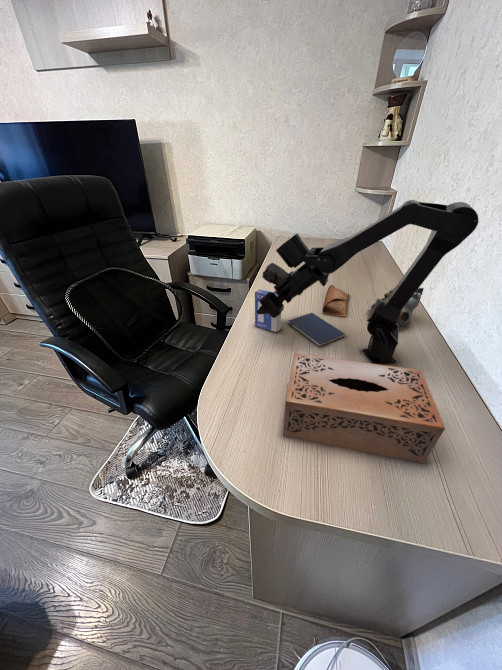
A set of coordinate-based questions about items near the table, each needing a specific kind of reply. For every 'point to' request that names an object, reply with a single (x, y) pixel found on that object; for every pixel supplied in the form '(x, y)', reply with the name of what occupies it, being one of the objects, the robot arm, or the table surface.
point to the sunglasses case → (335, 302)
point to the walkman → (265, 315)
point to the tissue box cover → (362, 407)
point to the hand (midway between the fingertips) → (262, 308)
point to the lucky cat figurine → (406, 307)
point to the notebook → (316, 329)
